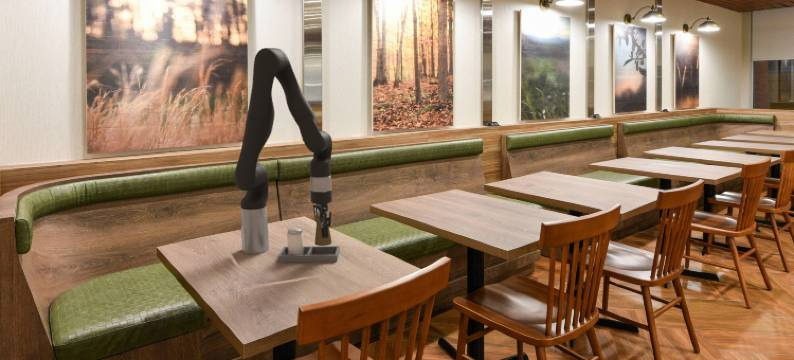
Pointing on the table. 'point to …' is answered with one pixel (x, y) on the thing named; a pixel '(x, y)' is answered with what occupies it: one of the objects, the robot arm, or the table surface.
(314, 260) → the caddy
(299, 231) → the salt shaker
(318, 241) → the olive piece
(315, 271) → the table surface
